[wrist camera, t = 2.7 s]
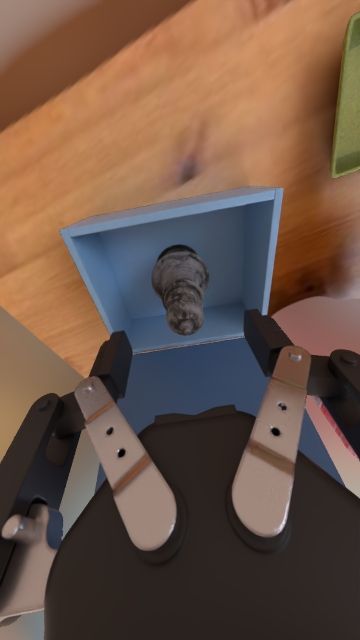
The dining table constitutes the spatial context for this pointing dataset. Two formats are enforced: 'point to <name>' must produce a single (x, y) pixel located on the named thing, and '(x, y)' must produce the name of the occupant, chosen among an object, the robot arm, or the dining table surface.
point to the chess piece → (181, 287)
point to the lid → (204, 390)
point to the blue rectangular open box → (193, 231)
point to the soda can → (333, 423)
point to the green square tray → (348, 105)
